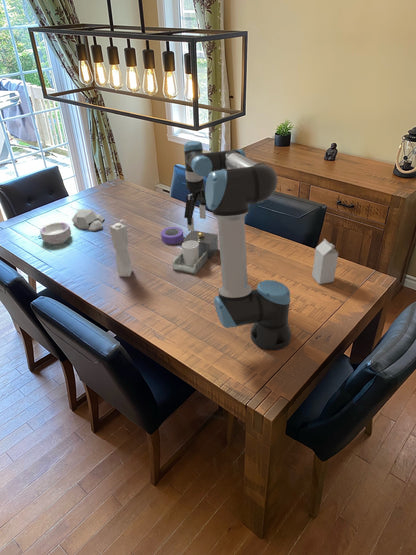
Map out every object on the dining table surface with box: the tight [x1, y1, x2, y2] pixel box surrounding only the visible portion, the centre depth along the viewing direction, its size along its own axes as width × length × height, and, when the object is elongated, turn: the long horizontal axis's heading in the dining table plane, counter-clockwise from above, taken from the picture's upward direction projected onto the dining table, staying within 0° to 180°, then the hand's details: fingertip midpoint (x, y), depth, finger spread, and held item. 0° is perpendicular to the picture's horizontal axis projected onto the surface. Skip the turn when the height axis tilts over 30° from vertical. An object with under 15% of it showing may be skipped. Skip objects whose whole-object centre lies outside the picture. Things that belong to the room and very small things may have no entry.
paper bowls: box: [39, 221, 72, 245], centre depth 224 cm, size 15×15×8 cm
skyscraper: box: [109, 219, 133, 277], centre depth 190 cm, size 8×8×28 cm
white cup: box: [181, 240, 199, 266], centre depth 200 cm, size 8×8×10 cm
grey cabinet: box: [171, 230, 219, 275], centre depth 203 cm, size 26×14×11 cm, turn 157°
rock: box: [71, 208, 105, 232], centre depth 238 cm, size 18×20×10 cm
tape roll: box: [160, 226, 185, 245], centre depth 223 cm, size 12×12×5 cm
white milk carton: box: [311, 238, 339, 285], centre depth 184 cm, size 7×7×19 cm
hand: (197, 224), depth 190 cm, fingers open, 13 cm apart
